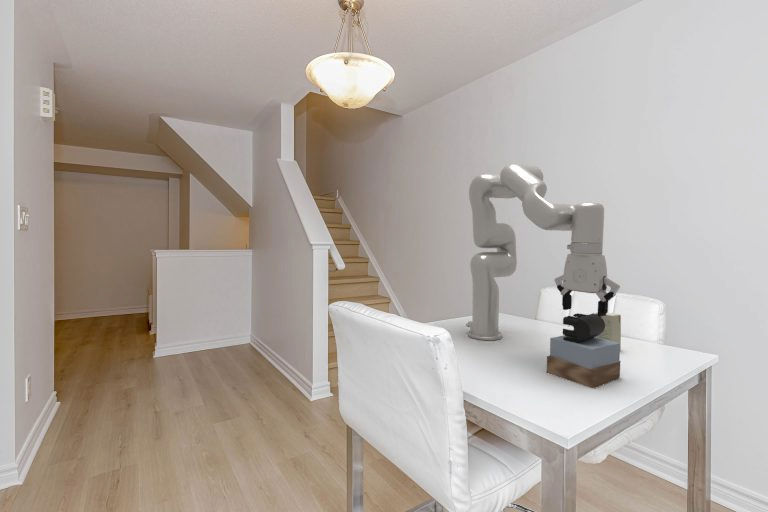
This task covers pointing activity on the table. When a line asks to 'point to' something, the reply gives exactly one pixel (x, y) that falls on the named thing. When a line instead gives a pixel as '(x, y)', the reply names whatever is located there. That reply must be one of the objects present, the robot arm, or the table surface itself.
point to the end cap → (583, 327)
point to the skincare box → (611, 328)
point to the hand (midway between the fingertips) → (583, 312)
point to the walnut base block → (583, 372)
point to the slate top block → (586, 351)
